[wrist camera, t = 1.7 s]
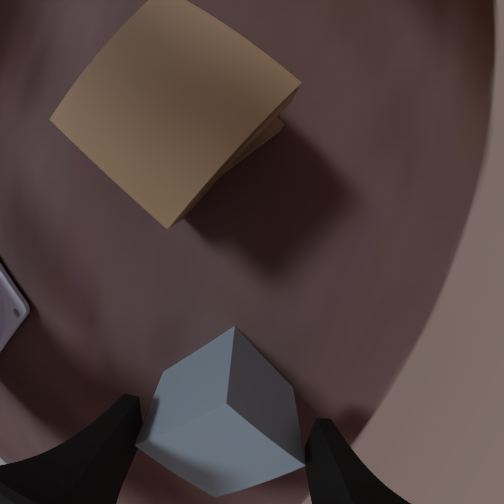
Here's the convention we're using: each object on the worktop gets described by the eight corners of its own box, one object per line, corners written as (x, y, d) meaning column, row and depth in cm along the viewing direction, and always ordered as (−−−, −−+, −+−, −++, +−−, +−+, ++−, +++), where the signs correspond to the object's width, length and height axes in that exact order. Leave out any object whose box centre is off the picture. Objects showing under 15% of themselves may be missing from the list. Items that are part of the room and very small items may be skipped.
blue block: (223, 423, 15) (215, 497, 10) (163, 370, 14) (134, 445, 9) (292, 386, 14) (305, 465, 9) (234, 325, 13) (226, 403, 8)
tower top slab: (186, 215, 10) (167, 229, 8) (86, 126, 9) (49, 119, 7) (290, 101, 9) (301, 83, 7) (179, 19, 8) (162, -13, 6)
